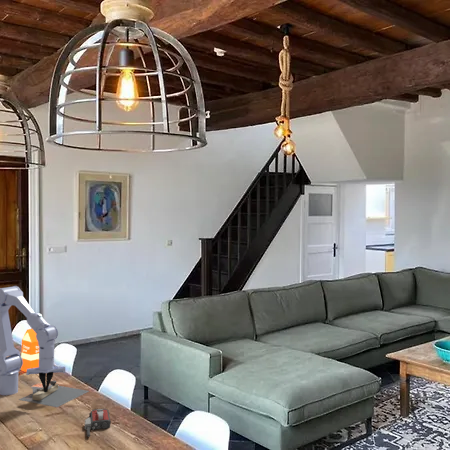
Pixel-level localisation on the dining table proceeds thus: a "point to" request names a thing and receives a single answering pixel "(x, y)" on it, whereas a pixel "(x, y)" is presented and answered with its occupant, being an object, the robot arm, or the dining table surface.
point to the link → (42, 394)
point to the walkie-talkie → (97, 420)
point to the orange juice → (30, 350)
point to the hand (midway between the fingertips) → (45, 391)
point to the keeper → (38, 387)
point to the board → (57, 396)
